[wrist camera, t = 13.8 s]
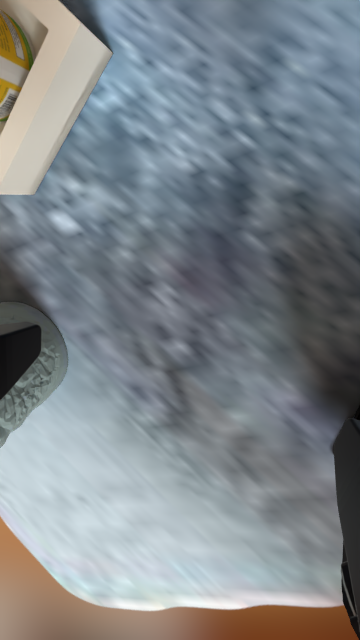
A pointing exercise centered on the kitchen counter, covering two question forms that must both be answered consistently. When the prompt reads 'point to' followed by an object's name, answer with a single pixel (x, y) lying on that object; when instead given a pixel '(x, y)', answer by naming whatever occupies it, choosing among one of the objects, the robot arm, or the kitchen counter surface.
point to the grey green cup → (32, 368)
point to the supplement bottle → (13, 62)
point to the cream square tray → (47, 91)
